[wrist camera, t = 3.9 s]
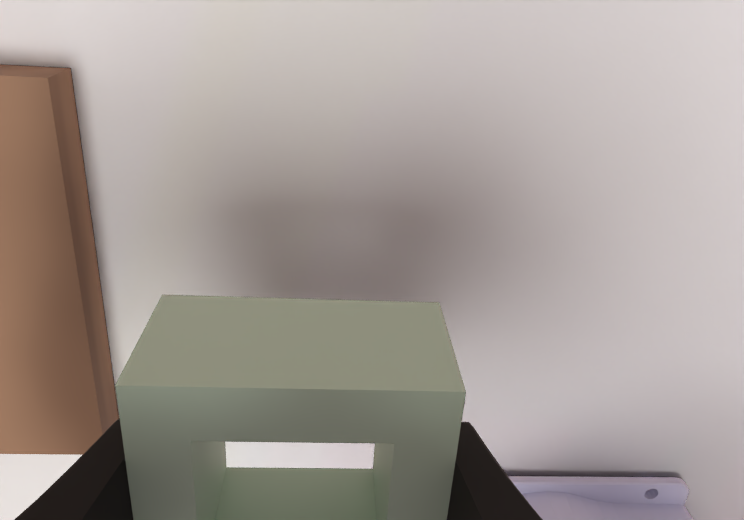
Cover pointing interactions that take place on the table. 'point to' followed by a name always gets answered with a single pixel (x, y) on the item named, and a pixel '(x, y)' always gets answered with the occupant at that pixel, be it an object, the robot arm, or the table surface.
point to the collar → (290, 408)
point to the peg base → (48, 274)
